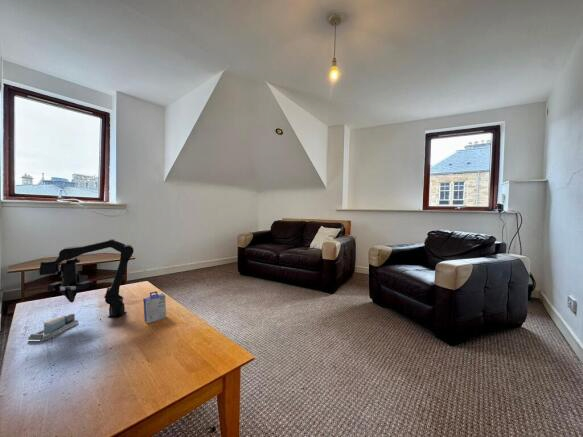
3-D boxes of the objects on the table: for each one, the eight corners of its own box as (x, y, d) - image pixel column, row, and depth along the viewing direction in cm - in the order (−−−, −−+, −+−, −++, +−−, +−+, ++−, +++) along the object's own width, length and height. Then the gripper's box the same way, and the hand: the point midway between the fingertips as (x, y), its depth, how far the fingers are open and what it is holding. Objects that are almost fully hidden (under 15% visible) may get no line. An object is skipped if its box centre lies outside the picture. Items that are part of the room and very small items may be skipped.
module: (65, 326, 122) (64, 316, 122) (52, 332, 116) (52, 322, 116) (56, 326, 123) (56, 316, 122) (44, 332, 117) (43, 322, 116)
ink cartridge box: (163, 314, 138) (162, 289, 137) (167, 317, 134) (166, 291, 133) (143, 320, 131) (142, 293, 130) (146, 324, 127) (145, 296, 126)
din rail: (78, 323, 128) (77, 313, 128) (44, 341, 111) (43, 329, 111) (64, 323, 128) (63, 313, 128) (28, 341, 111) (27, 329, 111)
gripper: (99, 267, 134) (102, 295, 135) (65, 268, 134) (68, 296, 135) (82, 273, 122) (85, 304, 124) (45, 274, 123) (48, 305, 124)
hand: (72, 302), depth 127 cm, fingers closed
